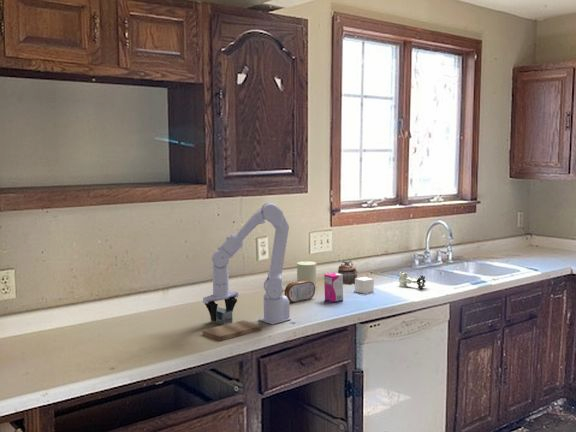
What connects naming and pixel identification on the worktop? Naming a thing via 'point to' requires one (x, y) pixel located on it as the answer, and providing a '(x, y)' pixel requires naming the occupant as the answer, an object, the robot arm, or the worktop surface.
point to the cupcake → (348, 272)
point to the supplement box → (333, 287)
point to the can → (306, 271)
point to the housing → (223, 316)
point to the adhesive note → (364, 285)
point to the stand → (231, 330)
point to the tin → (300, 290)
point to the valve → (411, 280)
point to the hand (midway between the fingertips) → (221, 319)
